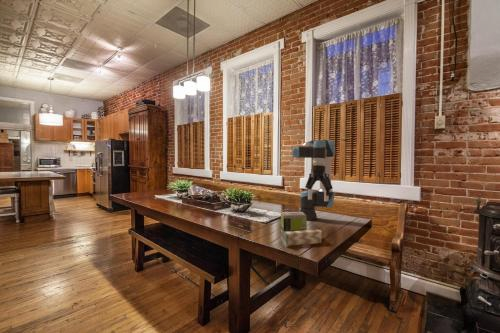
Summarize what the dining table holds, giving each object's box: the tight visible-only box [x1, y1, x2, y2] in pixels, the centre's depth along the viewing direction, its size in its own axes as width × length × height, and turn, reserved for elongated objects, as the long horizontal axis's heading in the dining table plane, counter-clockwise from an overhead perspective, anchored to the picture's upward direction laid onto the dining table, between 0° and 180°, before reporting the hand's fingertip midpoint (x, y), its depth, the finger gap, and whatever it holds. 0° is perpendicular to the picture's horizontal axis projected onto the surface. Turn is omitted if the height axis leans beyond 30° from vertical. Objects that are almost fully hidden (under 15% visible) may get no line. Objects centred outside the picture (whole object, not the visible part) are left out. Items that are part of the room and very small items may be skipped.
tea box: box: [280, 211, 308, 232], centre depth 162 cm, size 15×10×15 cm
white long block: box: [280, 229, 323, 248], centre depth 148 cm, size 24×8×7 cm, turn 104°
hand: (317, 200), depth 151 cm, fingers open, 13 cm apart
